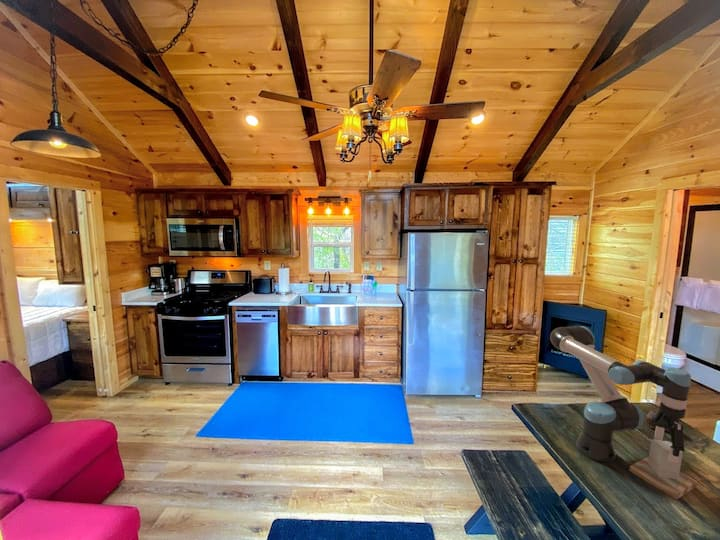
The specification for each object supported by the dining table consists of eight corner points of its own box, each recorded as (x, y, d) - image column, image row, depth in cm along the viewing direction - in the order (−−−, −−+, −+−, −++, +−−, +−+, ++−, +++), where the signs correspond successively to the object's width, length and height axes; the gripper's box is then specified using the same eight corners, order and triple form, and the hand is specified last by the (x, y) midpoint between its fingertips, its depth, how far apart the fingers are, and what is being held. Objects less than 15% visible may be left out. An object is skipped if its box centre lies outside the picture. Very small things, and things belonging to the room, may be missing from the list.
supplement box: (679, 480, 129) (683, 453, 127) (658, 476, 131) (662, 450, 129) (666, 467, 136) (670, 441, 135) (646, 463, 138) (650, 438, 136)
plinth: (676, 499, 124) (677, 493, 123) (629, 470, 138) (630, 464, 138) (696, 486, 130) (697, 480, 129) (649, 460, 144) (649, 454, 144)
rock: (673, 438, 161) (670, 428, 168) (679, 424, 159) (676, 415, 166) (643, 426, 168) (642, 417, 176) (649, 413, 166) (647, 404, 173)
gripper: (702, 425, 116) (693, 474, 120) (670, 392, 139) (663, 434, 142) (676, 420, 119) (667, 468, 123) (648, 388, 142) (642, 430, 145)
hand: (665, 450), depth 132 cm, fingers open, 13 cm apart
